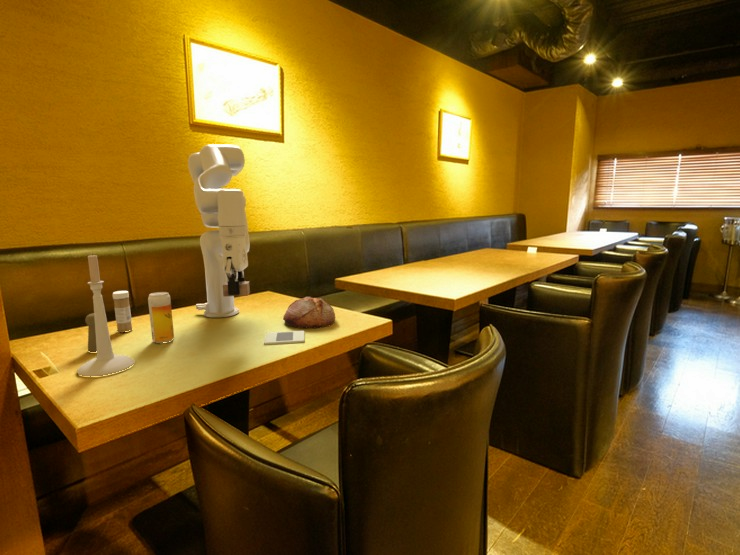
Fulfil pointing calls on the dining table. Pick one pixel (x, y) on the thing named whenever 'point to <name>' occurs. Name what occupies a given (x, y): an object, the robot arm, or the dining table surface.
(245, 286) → the brown rectangular block
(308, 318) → the bread
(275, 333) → the mat
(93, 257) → the candlestick
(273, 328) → the dining table surface
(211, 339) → the dining table surface
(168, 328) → the beer can
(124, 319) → the sprinkles bottle
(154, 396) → the dining table surface
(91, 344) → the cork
